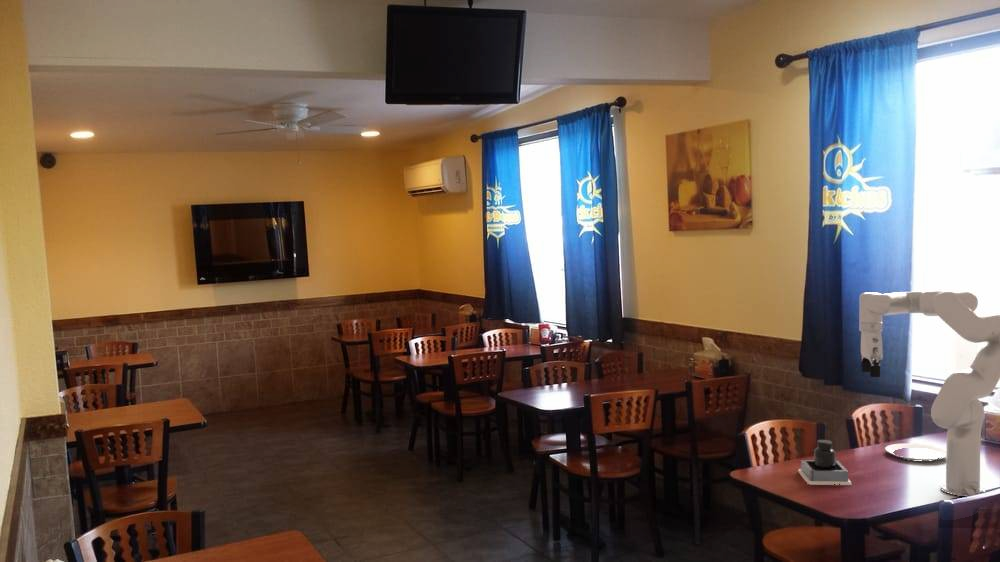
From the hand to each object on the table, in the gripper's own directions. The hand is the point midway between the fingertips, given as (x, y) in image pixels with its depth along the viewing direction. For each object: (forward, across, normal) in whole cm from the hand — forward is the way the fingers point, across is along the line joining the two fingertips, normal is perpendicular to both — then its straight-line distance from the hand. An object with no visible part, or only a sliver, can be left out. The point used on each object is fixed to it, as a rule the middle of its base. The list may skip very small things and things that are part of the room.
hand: (870, 374), depth 290 cm
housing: (+33, -16, +20) cm, 42 cm away
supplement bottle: (+32, -16, +20) cm, 41 cm away
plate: (+34, +12, -20) cm, 41 cm away
